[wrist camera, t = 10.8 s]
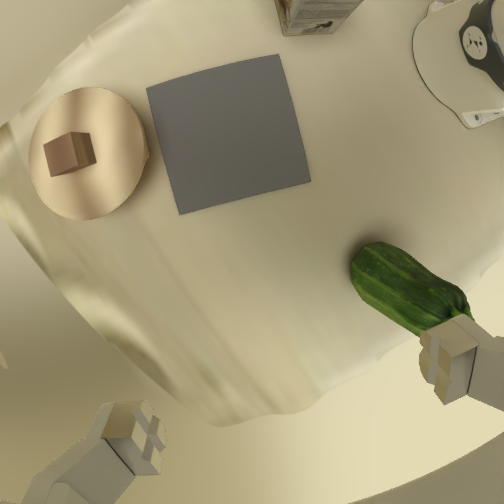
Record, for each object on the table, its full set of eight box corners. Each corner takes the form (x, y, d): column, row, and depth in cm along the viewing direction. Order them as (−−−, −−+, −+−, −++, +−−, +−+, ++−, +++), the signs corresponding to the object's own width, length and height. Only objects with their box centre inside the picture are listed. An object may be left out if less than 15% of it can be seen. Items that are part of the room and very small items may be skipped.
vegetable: (332, 278, 39) (404, 379, 20) (357, 225, 37) (456, 293, 18) (378, 296, 40) (460, 390, 21) (403, 247, 39) (506, 317, 19)
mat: (278, 55, 31) (278, 53, 31) (310, 181, 36) (311, 181, 35) (147, 89, 31) (145, 88, 31) (180, 214, 36) (179, 215, 35)
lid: (130, 69, 25) (111, 55, 21) (162, 195, 29) (148, 204, 24) (25, 119, 26) (-4, 117, 21) (53, 232, 30) (27, 246, 25)
